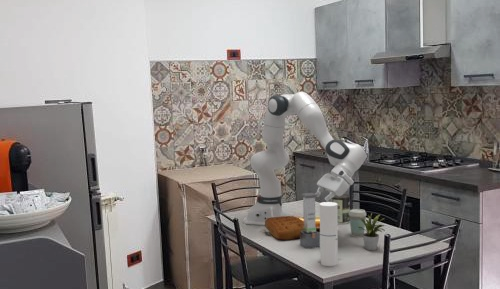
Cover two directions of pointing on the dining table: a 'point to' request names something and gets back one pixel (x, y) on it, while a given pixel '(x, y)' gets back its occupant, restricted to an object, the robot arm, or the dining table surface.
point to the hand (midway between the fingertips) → (320, 198)
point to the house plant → (371, 233)
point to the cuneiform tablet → (284, 227)
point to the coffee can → (342, 208)
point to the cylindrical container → (328, 234)
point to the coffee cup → (357, 221)
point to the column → (309, 212)
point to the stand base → (309, 240)
